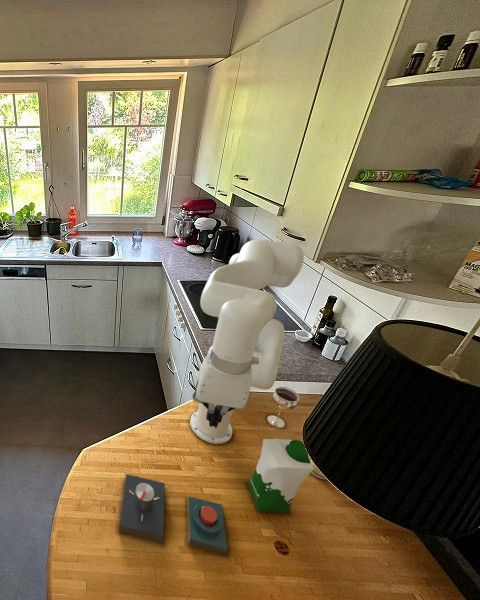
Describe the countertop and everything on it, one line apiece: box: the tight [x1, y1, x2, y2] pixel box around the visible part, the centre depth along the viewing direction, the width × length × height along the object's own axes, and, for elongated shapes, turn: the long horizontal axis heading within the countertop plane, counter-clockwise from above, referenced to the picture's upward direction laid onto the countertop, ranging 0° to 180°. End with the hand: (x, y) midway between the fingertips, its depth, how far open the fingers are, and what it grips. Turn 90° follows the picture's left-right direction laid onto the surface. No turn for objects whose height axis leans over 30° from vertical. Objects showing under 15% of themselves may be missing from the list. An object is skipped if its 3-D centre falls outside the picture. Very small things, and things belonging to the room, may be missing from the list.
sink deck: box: [118, 473, 166, 544], centre depth 80 cm, size 13×10×3 cm
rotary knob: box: [134, 483, 154, 512], centre depth 78 cm, size 4×4×5 cm
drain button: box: [200, 506, 217, 526], centre depth 76 cm, size 4×4×2 cm
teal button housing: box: [186, 496, 228, 555], centre depth 77 cm, size 10×8×4 cm
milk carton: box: [247, 438, 314, 514], centre depth 79 cm, size 9×9×20 cm
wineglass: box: [267, 386, 300, 428], centre depth 103 cm, size 7×7×12 cm
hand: (212, 422), depth 74 cm, fingers closed
